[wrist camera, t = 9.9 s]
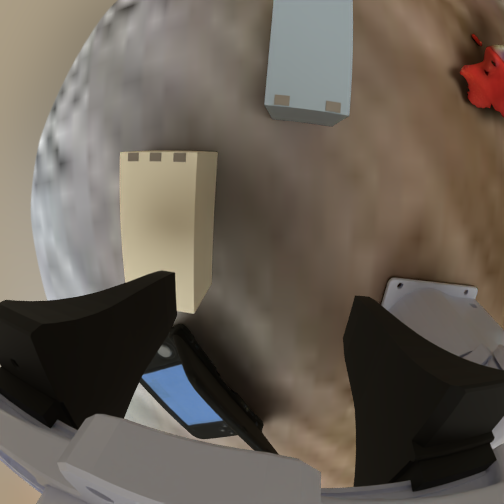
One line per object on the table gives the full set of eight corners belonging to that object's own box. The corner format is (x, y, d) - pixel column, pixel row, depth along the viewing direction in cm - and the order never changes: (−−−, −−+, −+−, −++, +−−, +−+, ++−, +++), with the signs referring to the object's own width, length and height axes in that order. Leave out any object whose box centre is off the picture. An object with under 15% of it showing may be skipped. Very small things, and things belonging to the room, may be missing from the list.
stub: (337, 26, 15) (352, -15, 9) (331, 126, 17) (349, 115, 12) (281, 19, 15) (275, -25, 9) (272, 119, 18) (264, 104, 12)
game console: (118, 343, 27) (74, 400, 18) (226, 302, 23) (193, 380, 15) (199, 432, 30) (179, 489, 22) (301, 413, 27) (298, 485, 18)
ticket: (217, 151, 19) (196, 152, 14) (211, 283, 22) (193, 314, 18) (152, 150, 19) (119, 152, 15) (153, 274, 23) (127, 301, 18)
